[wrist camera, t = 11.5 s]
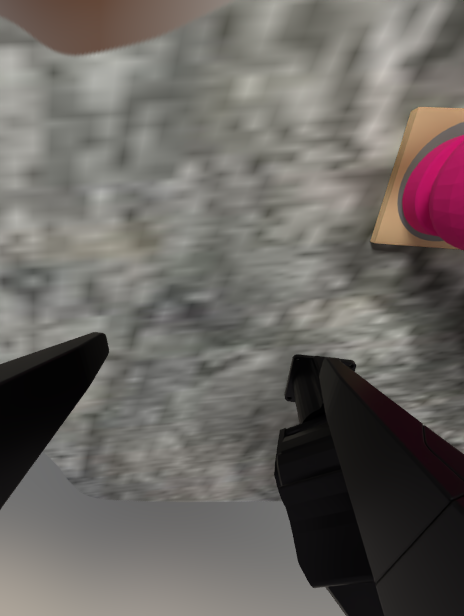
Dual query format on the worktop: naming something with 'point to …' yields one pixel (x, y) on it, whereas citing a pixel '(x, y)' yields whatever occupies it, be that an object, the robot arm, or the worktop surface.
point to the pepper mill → (438, 193)
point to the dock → (414, 147)
